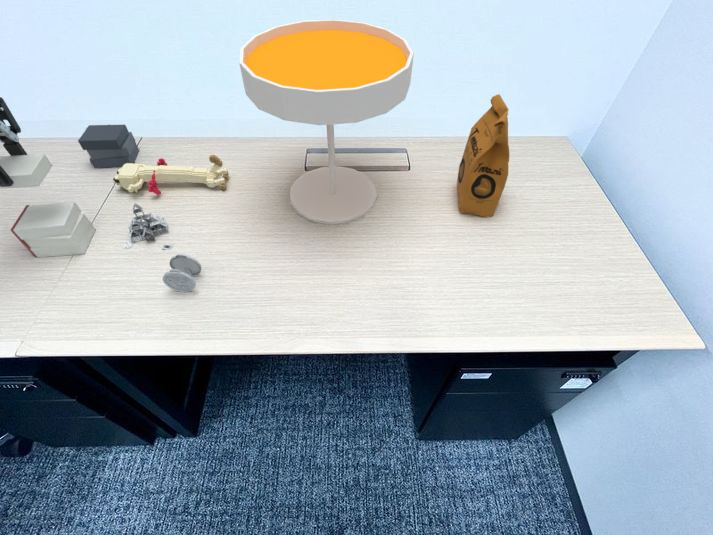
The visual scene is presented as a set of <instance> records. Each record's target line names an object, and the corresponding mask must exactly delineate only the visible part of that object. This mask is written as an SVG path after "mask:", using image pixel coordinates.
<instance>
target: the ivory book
mask: <svg viewBox="0 0 713 535" xmlns="http://www.w3.org/2000/svg"><path fill="white" fill-rule="evenodd" d="M0 165H1V167H2V168H3V169H4V170H5V172H6V173H7V174H8V175H9V177H10V178H11V179H12V181H13V182H14V183H13V185H12V186H8V187H0V189H1V190H2V189H3V190H5V189H18V188H33V187H34V188H35V187H40V186H41V185H42V183H43V181H44V180H45V178H46V177H47V175H48V174H49V172H50V170H51V169H52V167H53V163H52V162H51V161H50V160H49V158H48V157H47V155H46V154H45V153H37V154H36V153H35V154H27V155H16V156H11V155H0Z"/></svg>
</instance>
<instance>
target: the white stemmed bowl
mask: <svg viewBox="0 0 713 535" xmlns="http://www.w3.org/2000/svg"><path fill="white" fill-rule="evenodd" d="M408 42H409V41H408V40H407V39H406V38H404V37H403V36H400V35H399V34H397V33H395V32H393V31H392V30H390V29H388V28H386V27H381V26H378V25H374V24H370V23H367V22H363V21H353V20H344V19H334V18H333V19H314V20H311V19H309V20H301V21H297V22H290V23H286V24H281V25H275V26H274V27H273V26H272V27H271V28H269V29H266V30H264V31H262V32H259V33H257V34H255V35H253V36H252V37H251V38H249V39H248V40H247V42H246V43H244V44H243V45H242V46H241V47H240V50H239V59H238V60H239V62H238V64H239V69H240V72H241V77H242V82H243V87H244V93H245V96H246V97H247V98H248V99H249V101H251V102H252V104H253V105H254V106H255V107H256V108H257V109H258V110H259V111H262V112H264V113H266V114H269V115H271V116H273V117H275V118H278V119H280V120H282V121H286V122H292V123H293V122H294V123H301V124H308V125H314V126H326V139H327V140H326V141H327V142H326V143H327V158H328V159H327V160H328V166H322V167H317V168H315V169H312V170H308V171H306V172H304V173H303V174H302V175H301V176H299V177H298V178H297V179H295V180H294V182H293V184H292V186H291V187H290V189H289V199H290V200H289V201H290V206H292V208H293V210H295V212H296V213H297V214H298V215H299V216H301V217H303V218H304V219H306V220H309V221H310V222H312V223H318V224H323V225H328V226H330V225H338V224H339V225H340V224H341V225H342V224H349V223H351V222H353V221H356V220H358V219H361V218H363V217H365V215H366V214H367V213H369V212H370V211H371V210H372V209H373V208H374V206H375V202H376V200H377V197H378V193H377V189H376V186H375V183H374V182H373V181H372V179H370V178H369V177H368V176H367V175H366V174H365V173H363V172H361V171H358V170H356V169H354V168H352V167H345V166H339V165H336V151H335V150H336V148H335V125H343V124H344V125H345V124H357V123H360V122H363V121H366V120H370V119H373V118H376V117H380V116H383V115H385V114H388V113H389V112H391V111H392V110H394V108H396V107H398V106H399V105H400V104H401V103H402V102H404V101H405V100H406V98H407V95H408V92H409V89H410V86H411V81H412V73H413V64H414V50H413V49H412V47H411V46H410V44H409V43H408Z"/></svg>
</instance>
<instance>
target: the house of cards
mask: <svg viewBox="0 0 713 535" xmlns="http://www.w3.org/2000/svg"><path fill="white" fill-rule="evenodd" d="M139 213H142V214H141V215H138V214H139ZM132 214H133V215H135V216H133V217H132V218H131V222H129V226H128V228H127V230H128V235H129V239H131V241H126V242H125V243H124V246H123V249H131V248H132V244H134V243H137V242H140V241H144V240H146V241H147V242H149V239H151V238H152V237H153V239H154V241H156V236H161V235H164V234H167V233H169V230H168V228H169V226H168V224H167V222H166V219H165V218H164V217H161V216H158V215H155V214H153V213H152V212H150V213H146V214H145V212H144V207H143V206H141V205H139V204H137V203H135V202H134V204H133V207H132ZM172 246H173V244H172V243H170V244H162V248H161V250H171V249H172Z"/></svg>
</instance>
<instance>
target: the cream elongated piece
mask: <svg viewBox="0 0 713 535" xmlns="http://www.w3.org/2000/svg"><path fill="white" fill-rule="evenodd" d="M208 159H209V162H210V163H211V164H213V165H212V166H210V168H205V167H195V166H185V165H168V162H166V159H164V158H163V157H160V158H158V161H156V165H148V164H143V163H134V164H133V163H126V164H124V165H123V167H119V168H118V169H117V170H116V174H115V175H114V176H113V178H112V180H113V184H115V185H117V186H119V187H121V188H122V189H124V190H127V191H128V193H134V192H135V193H138V191H139V190H141V189H142V187H143V185H144V183H148V186H149V187H148V192H149V193H153V194H156V195H161V194H162V193H161V192H162V191H161V190H160V189H159V187H158V182H167V181H170V182H173V181H174V182H190V183H193V184H196V183H197V184H198V183H199V184H204V185H206V186H207V187H208V188H215V187H216V186H217V187H218V186H220V190H222V191H226V190H227V181H229V171H228V168H227V167H223V160H221V158H219V156H217V155H215V154H210V155H209V157H208ZM222 167H223V168H222ZM221 168H222V169H221Z"/></svg>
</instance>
